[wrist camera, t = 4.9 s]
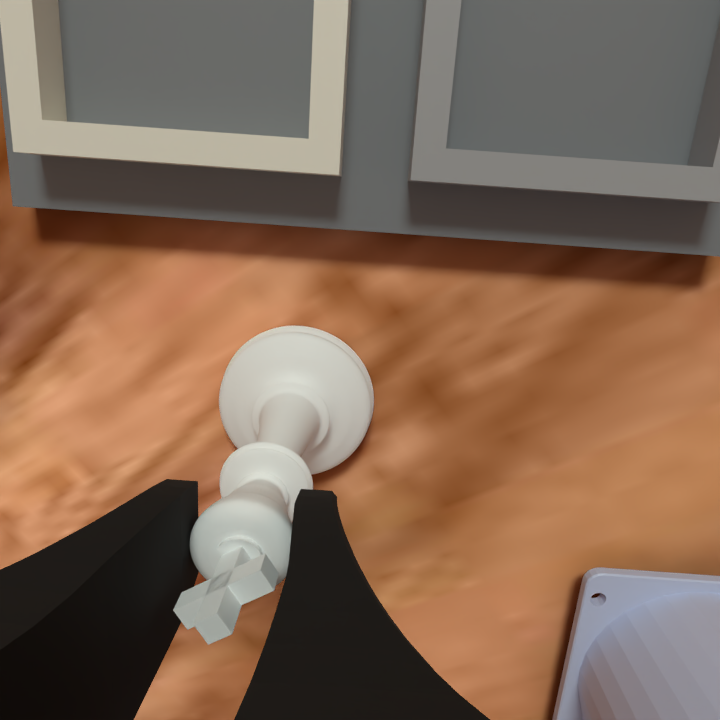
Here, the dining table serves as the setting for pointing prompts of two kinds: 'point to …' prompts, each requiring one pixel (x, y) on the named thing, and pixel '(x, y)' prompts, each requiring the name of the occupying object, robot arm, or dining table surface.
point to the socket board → (375, 115)
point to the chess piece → (271, 463)
